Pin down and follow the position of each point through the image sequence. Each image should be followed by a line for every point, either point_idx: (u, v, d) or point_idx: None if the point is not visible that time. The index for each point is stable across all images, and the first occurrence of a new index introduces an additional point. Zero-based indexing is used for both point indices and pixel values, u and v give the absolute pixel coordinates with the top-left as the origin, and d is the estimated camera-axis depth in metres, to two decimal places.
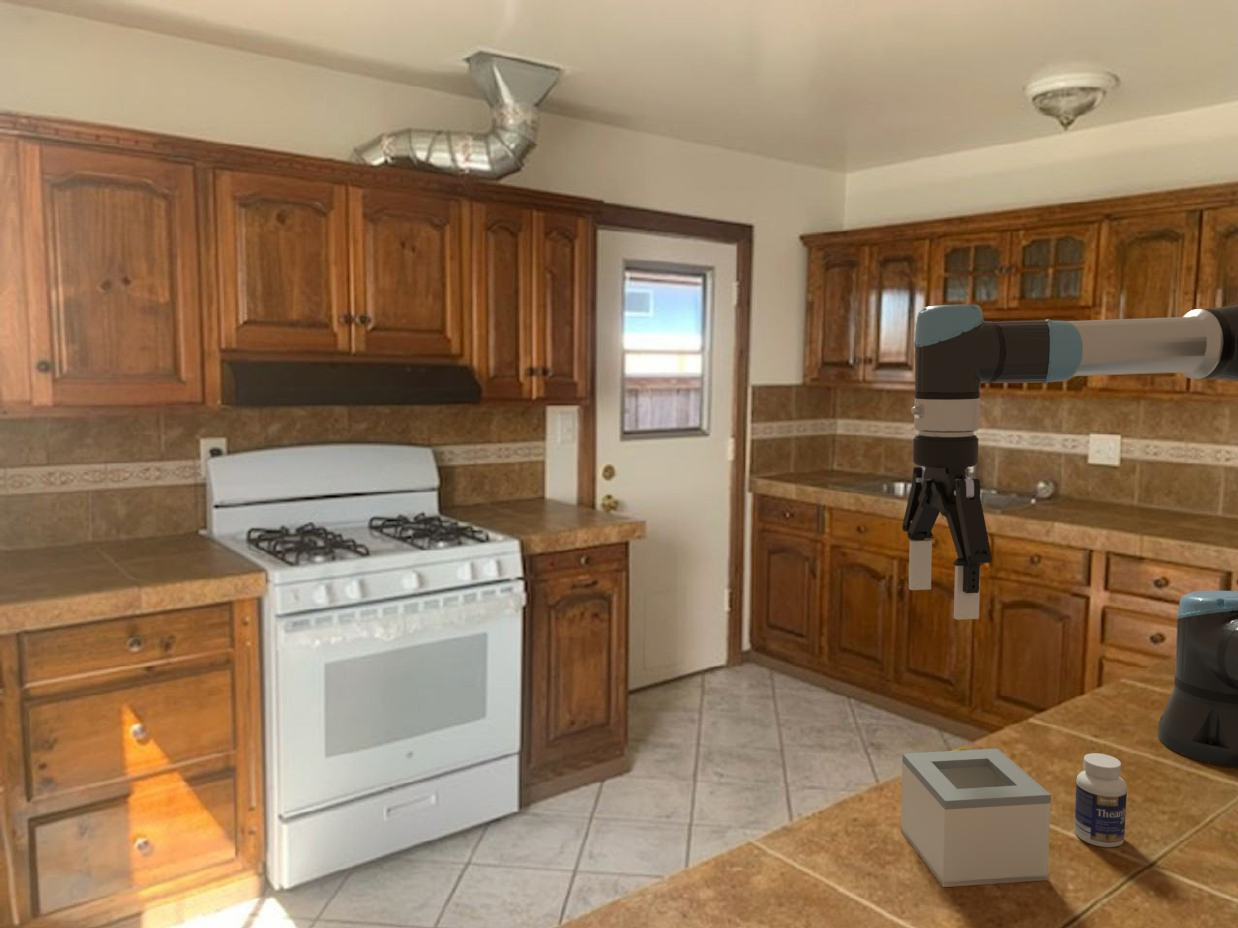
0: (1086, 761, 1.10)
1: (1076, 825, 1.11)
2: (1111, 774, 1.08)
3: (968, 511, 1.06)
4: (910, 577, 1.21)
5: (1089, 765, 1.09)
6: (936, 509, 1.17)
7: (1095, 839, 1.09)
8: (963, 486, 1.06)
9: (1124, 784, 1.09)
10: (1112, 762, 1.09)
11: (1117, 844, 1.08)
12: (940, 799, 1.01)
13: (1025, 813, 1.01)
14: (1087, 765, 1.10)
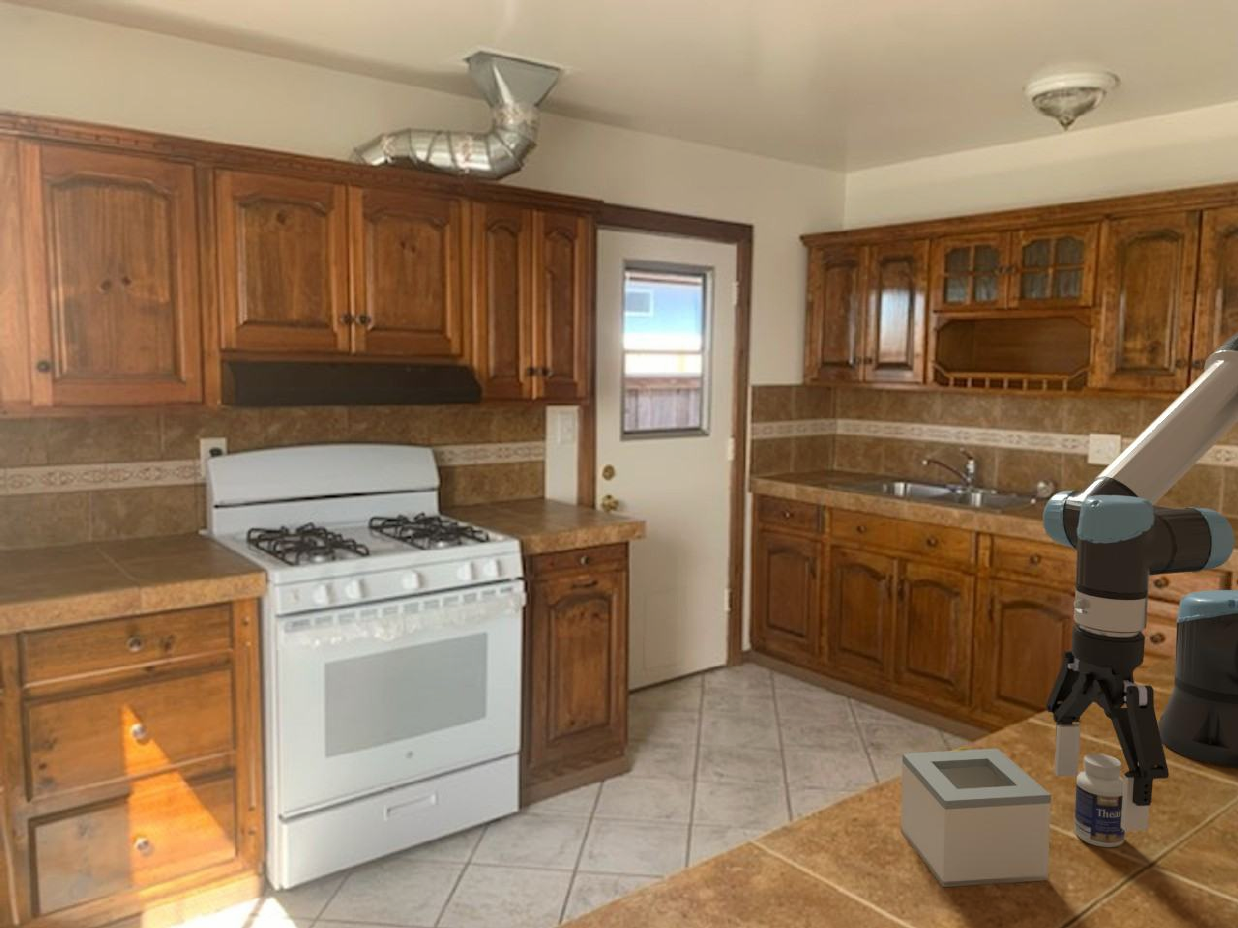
0: (1086, 761, 1.10)
1: (1076, 825, 1.11)
2: (1111, 774, 1.08)
3: (1142, 721, 1.01)
4: (1057, 762, 1.17)
5: (1089, 765, 1.09)
6: None
7: (1095, 839, 1.09)
8: (1136, 694, 1.02)
9: None
10: (1112, 762, 1.09)
11: (1117, 844, 1.08)
12: (940, 799, 1.01)
13: (1025, 813, 1.01)
14: (1087, 765, 1.10)
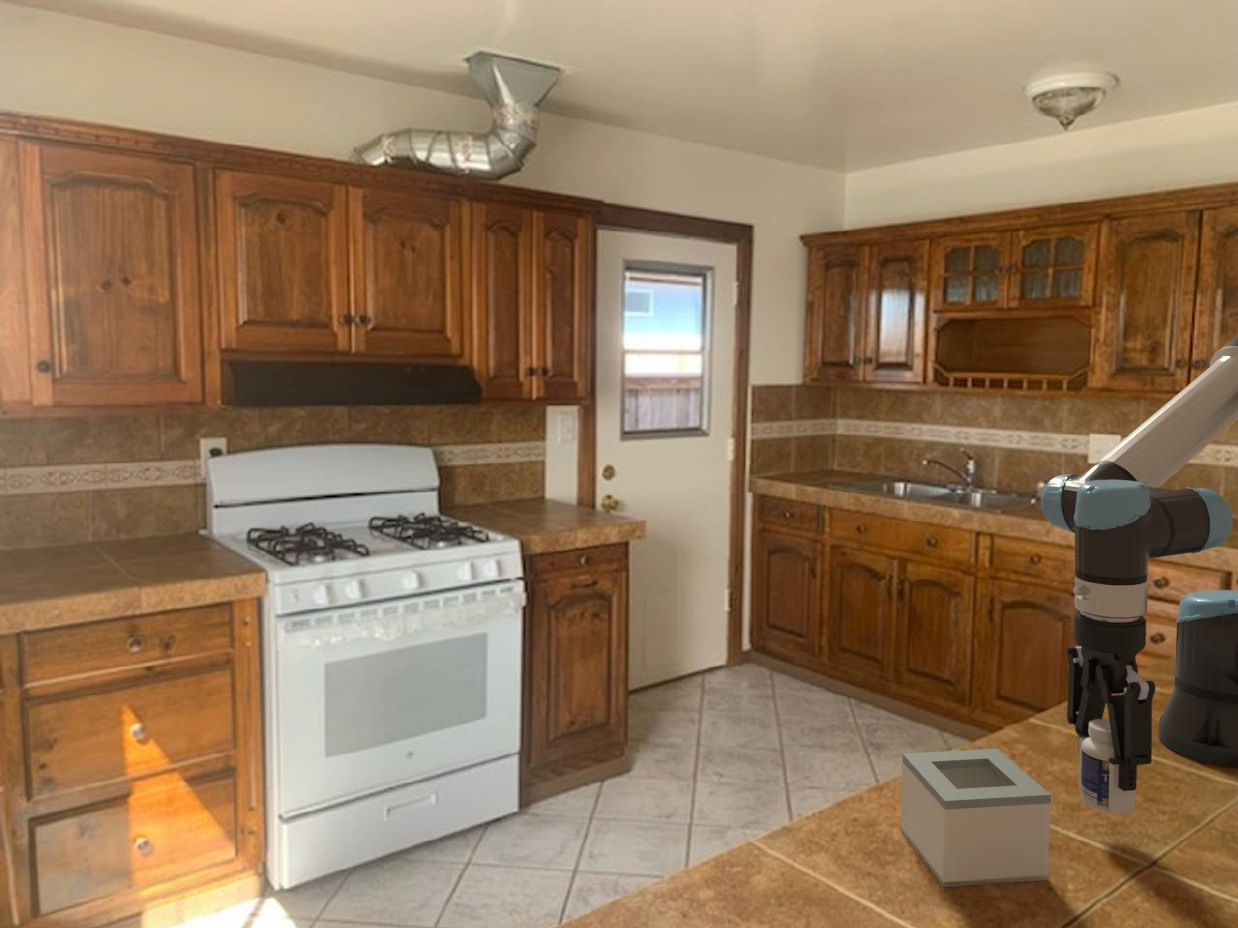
0: (1091, 727, 1.09)
1: (1082, 791, 1.11)
2: None
3: (1137, 715, 1.03)
4: None
5: (1094, 730, 1.09)
6: None
7: (1102, 804, 1.08)
8: (1137, 692, 1.02)
9: None
10: None
11: None
12: (940, 799, 1.01)
13: (1025, 813, 1.01)
14: (1092, 731, 1.09)
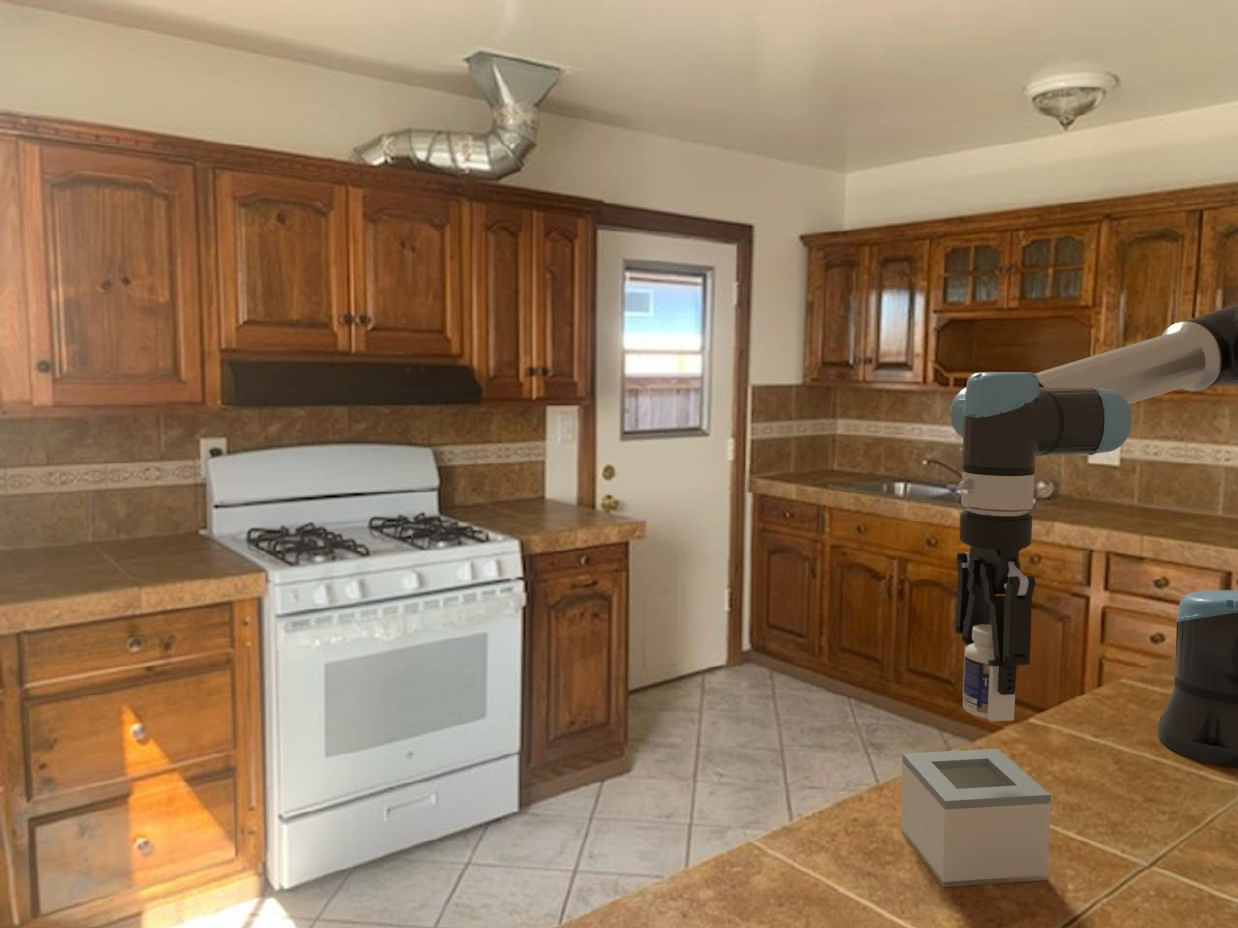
0: (974, 630, 1.05)
1: (964, 699, 1.06)
2: None
3: (1016, 611, 0.98)
4: None
5: (977, 633, 1.04)
6: None
7: (981, 711, 1.04)
8: (1016, 586, 0.97)
9: None
10: None
11: None
12: (940, 799, 1.01)
13: (1025, 813, 1.01)
14: (975, 634, 1.04)
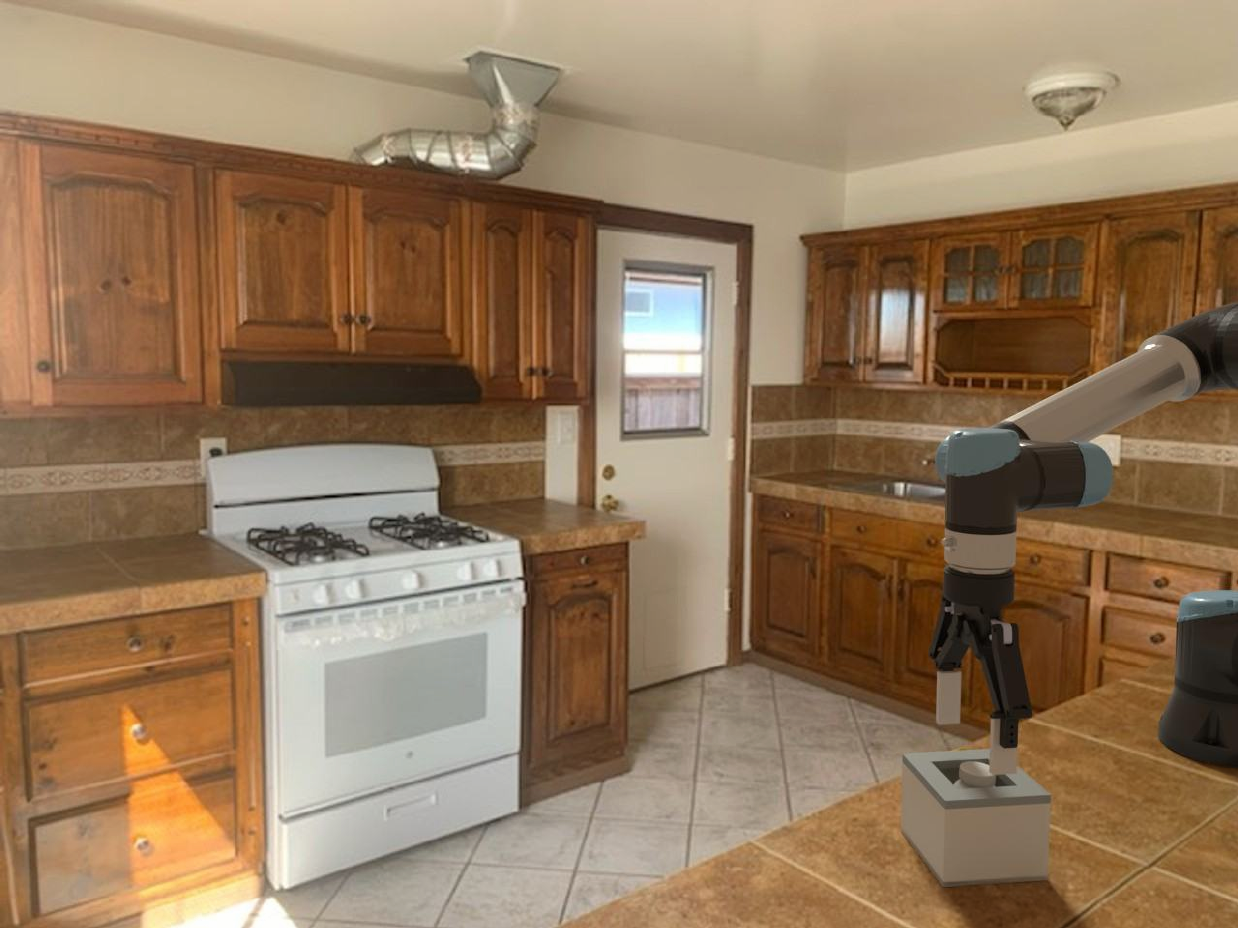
0: (962, 769, 1.06)
1: None
2: (986, 783, 1.05)
3: (1006, 660, 0.97)
4: (938, 710, 1.12)
5: (965, 773, 1.06)
6: None
7: None
8: (1000, 632, 0.97)
9: None
10: (987, 770, 1.06)
11: None
12: (940, 799, 1.01)
13: (1025, 813, 1.01)
14: (963, 774, 1.06)
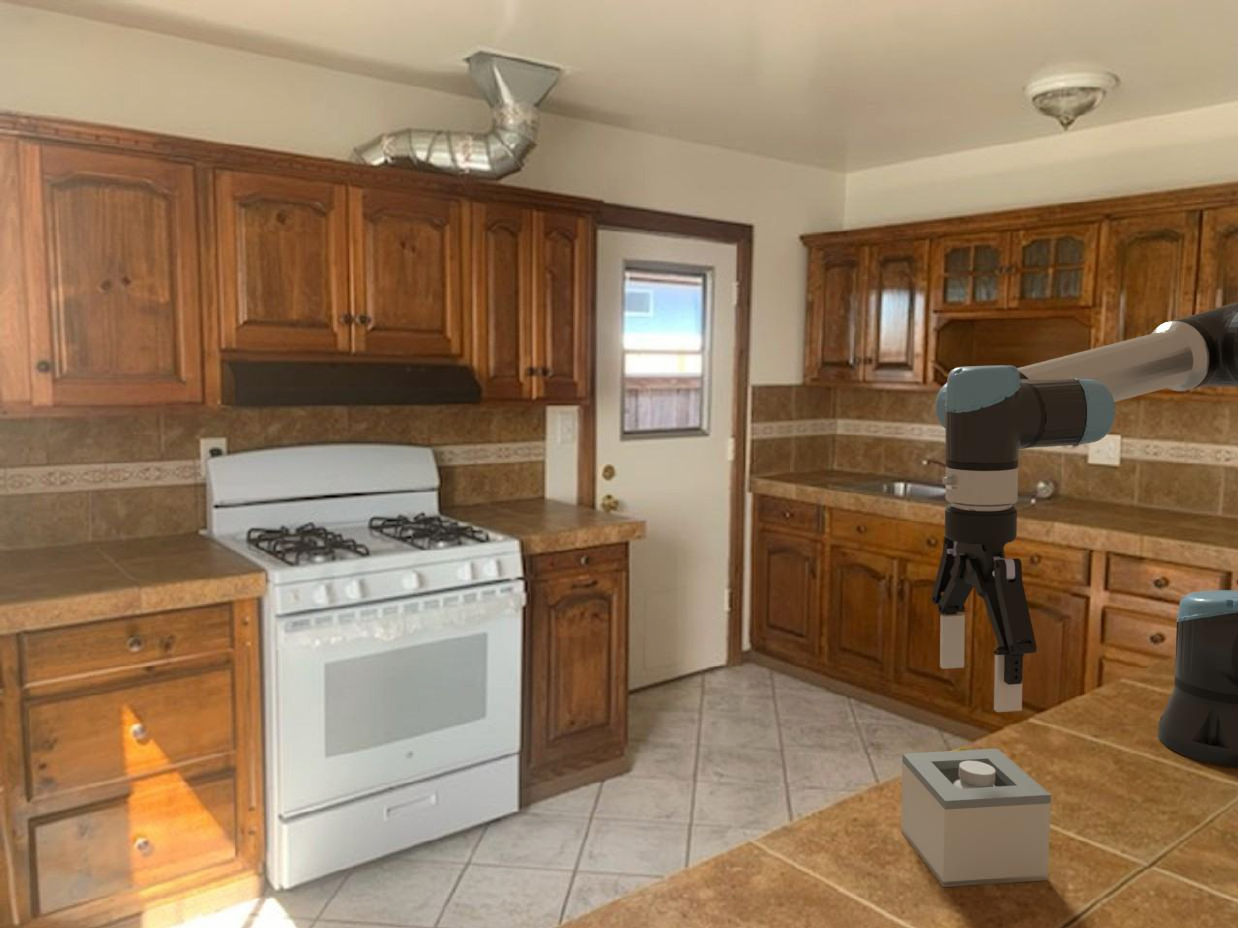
0: (962, 769, 1.06)
1: None
2: (986, 781, 1.05)
3: (1010, 595, 0.96)
4: (941, 654, 1.12)
5: (965, 773, 1.06)
6: (970, 583, 1.07)
7: None
8: (1003, 567, 0.97)
9: None
10: (987, 769, 1.06)
11: None
12: (940, 799, 1.01)
13: (1025, 813, 1.01)
14: (963, 773, 1.06)
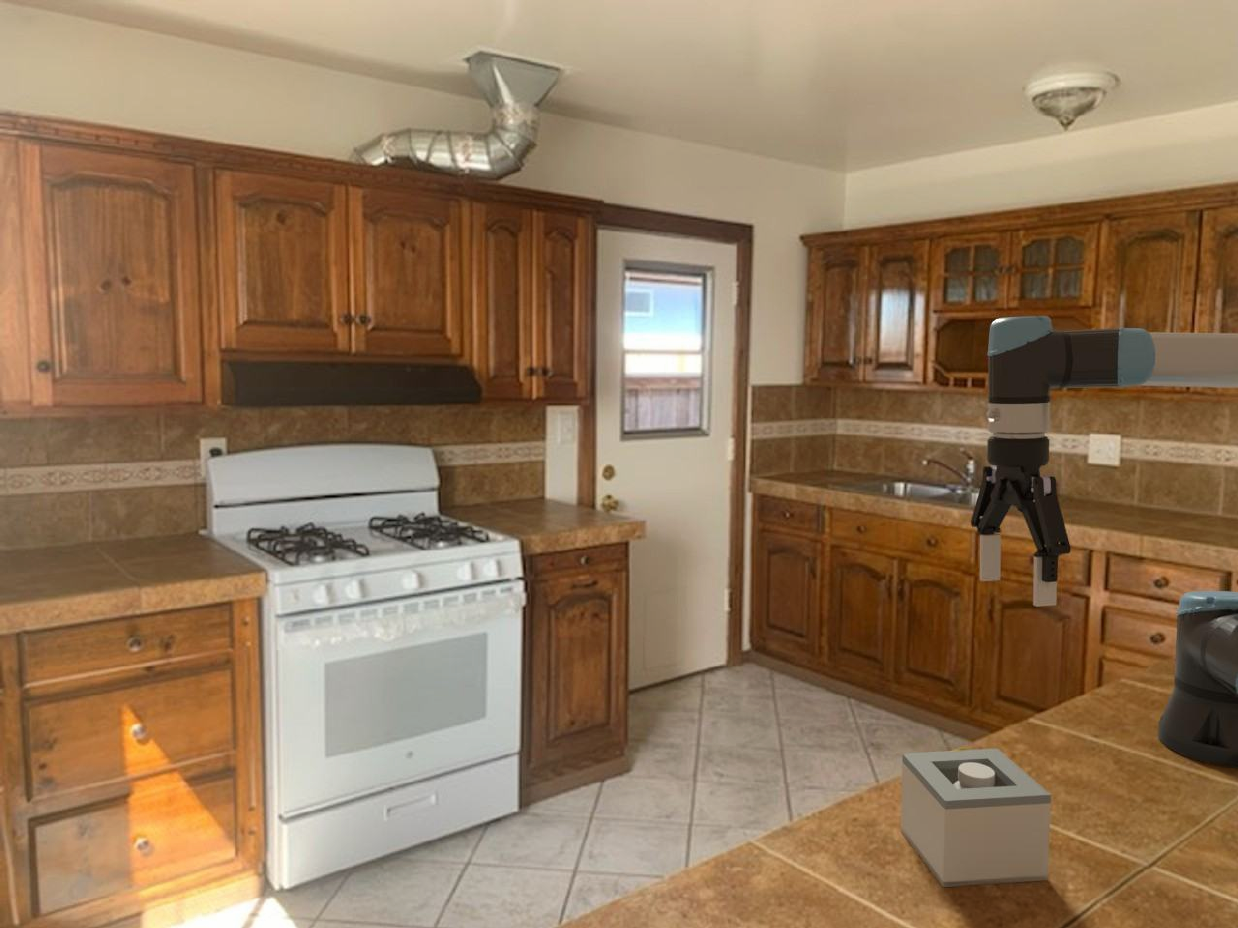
0: (962, 772, 1.06)
1: None
2: (987, 784, 1.05)
3: (1047, 506, 1.15)
4: (981, 569, 1.30)
5: (965, 776, 1.05)
6: (1007, 505, 1.26)
7: None
8: (1041, 483, 1.15)
9: None
10: (986, 771, 1.06)
11: None
12: (940, 799, 1.01)
13: (1025, 813, 1.01)
14: (963, 776, 1.06)
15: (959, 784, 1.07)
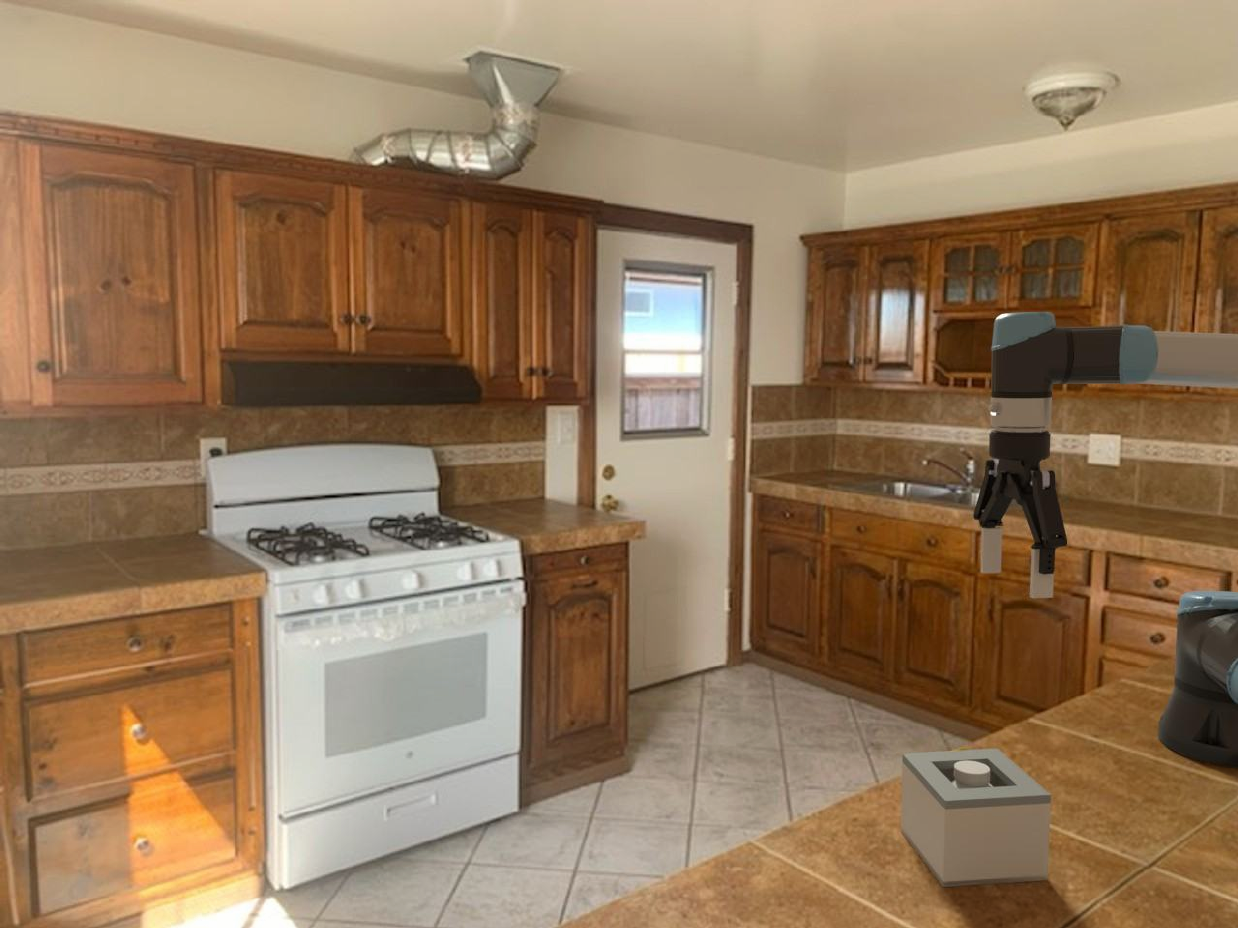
0: (957, 770, 1.06)
1: None
2: (983, 780, 1.05)
3: (1045, 499, 1.16)
4: (982, 561, 1.32)
5: (961, 773, 1.06)
6: (1008, 499, 1.28)
7: None
8: (1040, 477, 1.17)
9: None
10: (981, 768, 1.07)
11: None
12: (940, 799, 1.01)
13: (1025, 813, 1.01)
14: (959, 774, 1.06)
15: (955, 782, 1.07)
